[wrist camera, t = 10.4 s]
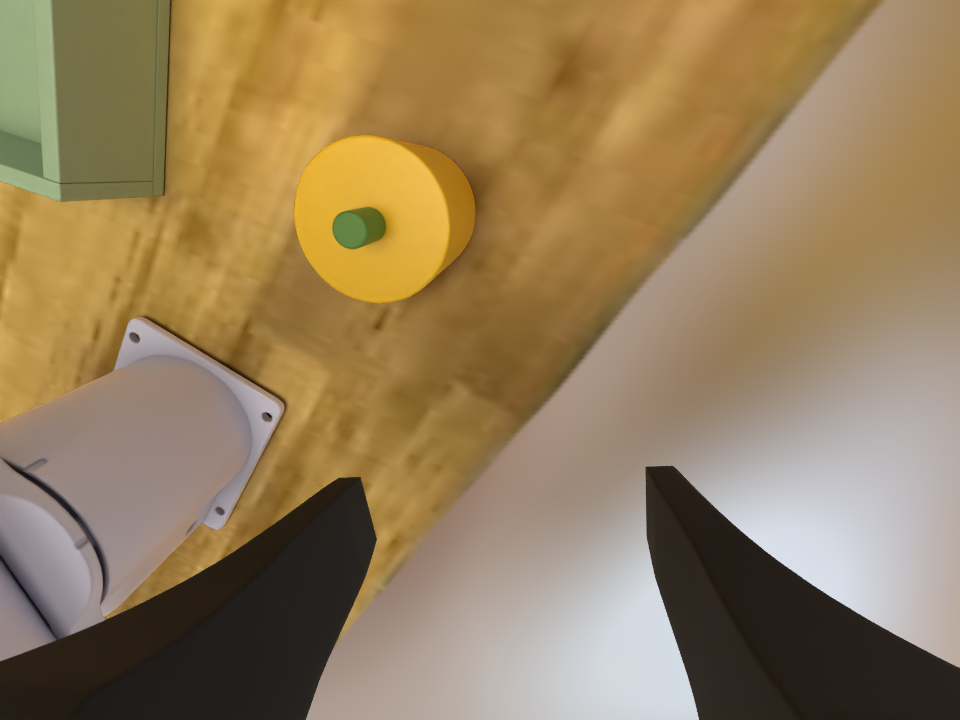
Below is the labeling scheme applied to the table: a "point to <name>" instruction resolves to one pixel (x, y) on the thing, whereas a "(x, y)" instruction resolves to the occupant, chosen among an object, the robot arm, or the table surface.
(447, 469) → the table surface
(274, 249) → the table surface
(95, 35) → the basket
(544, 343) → the table surface
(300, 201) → the pepper
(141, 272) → the table surface
